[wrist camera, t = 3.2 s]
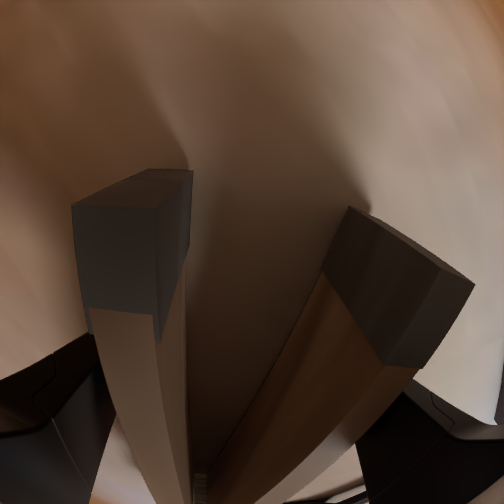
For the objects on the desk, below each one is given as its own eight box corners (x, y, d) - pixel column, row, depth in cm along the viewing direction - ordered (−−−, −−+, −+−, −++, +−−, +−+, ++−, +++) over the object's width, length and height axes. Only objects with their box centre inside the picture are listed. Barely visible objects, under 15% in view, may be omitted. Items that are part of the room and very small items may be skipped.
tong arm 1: (205, 474, 15) (205, 542, 10) (348, 205, 9) (456, 279, 4) (225, 476, 16) (228, 543, 11) (380, 219, 10) (488, 294, 5)
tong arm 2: (175, 471, 15) (171, 539, 10) (149, 168, 8) (55, 213, 3) (196, 473, 15) (195, 541, 10) (193, 170, 9) (146, 216, 4)
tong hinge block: (167, 483, 17) (165, 516, 14) (168, 469, 16) (165, 507, 13) (224, 489, 17) (226, 522, 14) (231, 475, 16) (233, 513, 13)
